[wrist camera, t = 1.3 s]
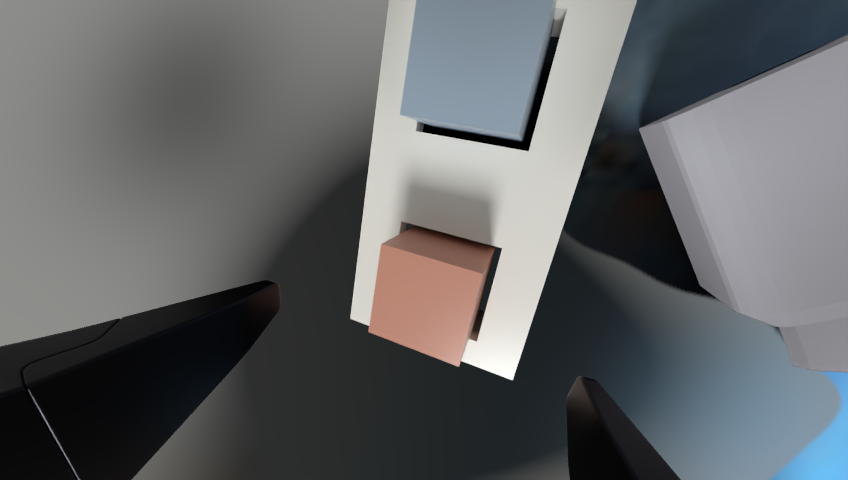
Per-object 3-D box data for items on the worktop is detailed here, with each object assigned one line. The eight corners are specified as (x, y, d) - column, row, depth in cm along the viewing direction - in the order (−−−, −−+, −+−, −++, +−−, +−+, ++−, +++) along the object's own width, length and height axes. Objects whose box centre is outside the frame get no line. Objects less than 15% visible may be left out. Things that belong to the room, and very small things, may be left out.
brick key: (476, 319, 18) (458, 366, 14) (404, 295, 19) (368, 331, 15) (495, 246, 17) (482, 273, 12) (416, 224, 18) (381, 244, 14)
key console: (516, 336, 20) (512, 380, 16) (383, 290, 23) (350, 318, 19) (617, 18, 15) (649, -38, 11) (426, 6, 18) (394, -42, 14)
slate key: (522, 142, 15) (518, 134, 11) (434, 127, 16) (399, 114, 12) (551, 34, 14) (559, -22, 9) (452, 26, 15) (419, -27, 11)
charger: (731, 379, 17) (633, 129, 16) (990, 341, 14) (888, 14, 12) (798, 452, 13) (669, 117, 12) (1207, 426, 9) (1079, -65, 8)
